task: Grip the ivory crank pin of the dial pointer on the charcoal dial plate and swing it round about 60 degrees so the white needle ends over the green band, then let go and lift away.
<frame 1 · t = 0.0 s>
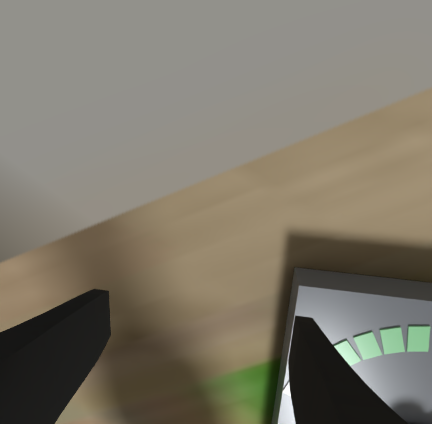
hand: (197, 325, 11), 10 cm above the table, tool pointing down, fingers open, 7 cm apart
dial plate: (385, 392, 23), on the table
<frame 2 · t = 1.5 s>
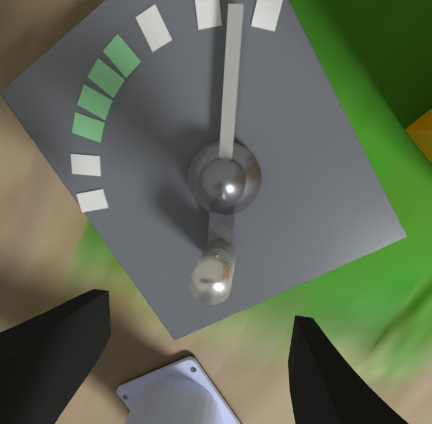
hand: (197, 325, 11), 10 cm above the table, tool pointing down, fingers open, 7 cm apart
dial pointer: (222, 156, 14), point 5 cm above the table, hinge at 0.0°
dial plate: (205, 158, 20), on the table
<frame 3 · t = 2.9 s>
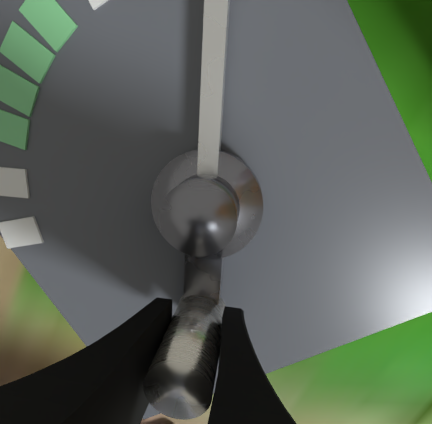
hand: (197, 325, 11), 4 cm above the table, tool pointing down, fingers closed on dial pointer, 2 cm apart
dial pointer: (199, 175, 9), point 5 cm above the table, hinge at 0.0°, touching gripper
dial plate: (183, 170, 14), on the table
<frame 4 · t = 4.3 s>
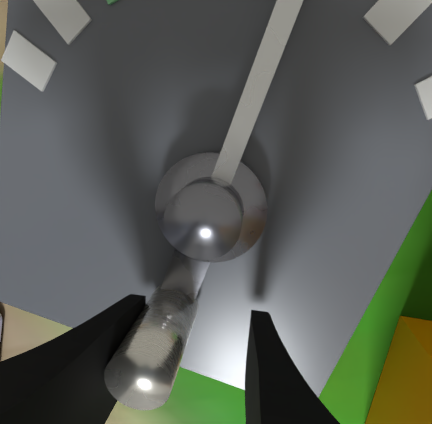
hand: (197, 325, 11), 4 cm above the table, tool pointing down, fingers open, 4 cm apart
dial pointer: (217, 182, 9), point 5 cm above the table, hinge at 31.5°, touching gripper
dial plate: (210, 151, 13), on the table
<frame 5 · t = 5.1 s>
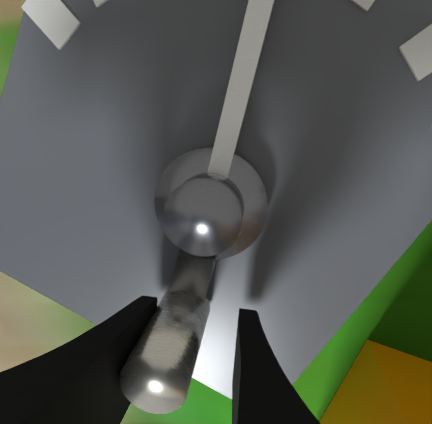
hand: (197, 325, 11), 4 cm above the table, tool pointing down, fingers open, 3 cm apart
orange juice: (412, 418, 16), on the table
dial pointer: (212, 176, 9), point 5 cm above the table, hinge at 49.4°, touching gripper
dial plate: (218, 146, 13), on the table
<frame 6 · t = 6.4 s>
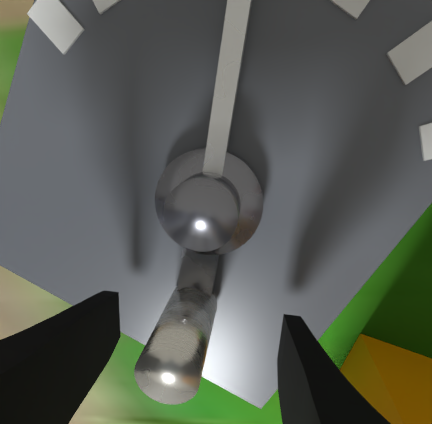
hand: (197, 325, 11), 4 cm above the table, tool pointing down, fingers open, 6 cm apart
orange juice: (404, 410, 17), on the table
dial pointer: (206, 174, 9), point 5 cm above the table, hinge at 54.4°
dial plate: (216, 147, 14), on the table
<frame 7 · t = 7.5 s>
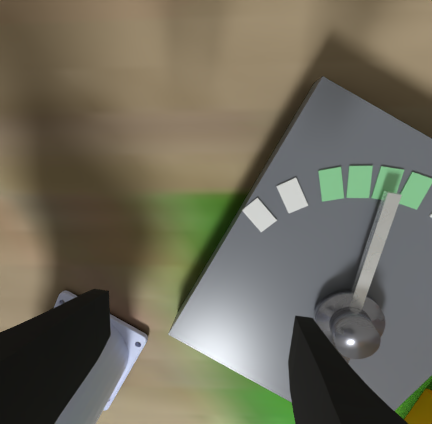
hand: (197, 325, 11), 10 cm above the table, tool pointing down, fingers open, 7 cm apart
dial pointer: (364, 319, 16), point 5 cm above the table, hinge at 54.4°
dial plate: (336, 270, 21), on the table
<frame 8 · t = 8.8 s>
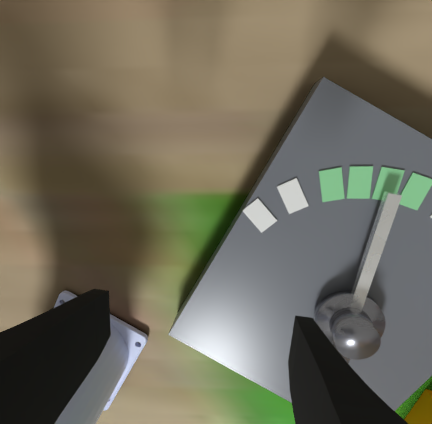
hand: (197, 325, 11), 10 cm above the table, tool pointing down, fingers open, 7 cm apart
dial pointer: (364, 320, 16), point 5 cm above the table, hinge at 54.4°
dial plate: (336, 270, 21), on the table
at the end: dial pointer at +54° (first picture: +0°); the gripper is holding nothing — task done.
